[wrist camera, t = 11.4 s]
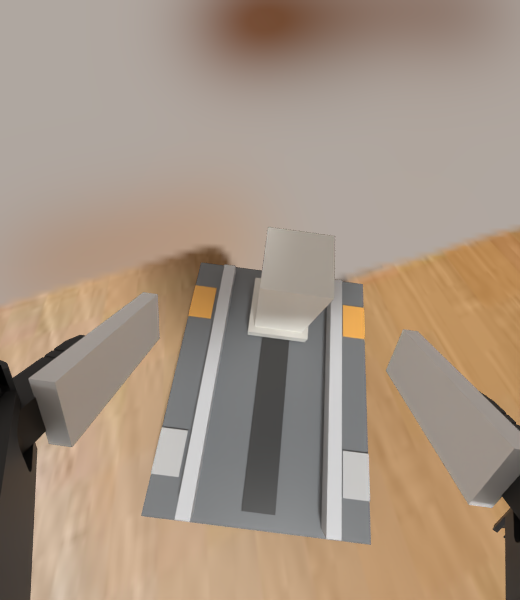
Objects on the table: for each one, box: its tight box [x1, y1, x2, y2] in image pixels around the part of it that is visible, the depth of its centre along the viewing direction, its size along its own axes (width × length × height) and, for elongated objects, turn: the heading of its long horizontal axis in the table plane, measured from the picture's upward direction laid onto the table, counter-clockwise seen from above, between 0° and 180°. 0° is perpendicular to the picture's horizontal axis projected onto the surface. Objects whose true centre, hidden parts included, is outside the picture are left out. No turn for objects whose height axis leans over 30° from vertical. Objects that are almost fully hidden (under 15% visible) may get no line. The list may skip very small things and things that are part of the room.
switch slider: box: [248, 227, 335, 342], centre depth 18 cm, size 5×5×9 cm
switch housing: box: [141, 263, 371, 545], centre depth 21 cm, size 16×20×4 cm
